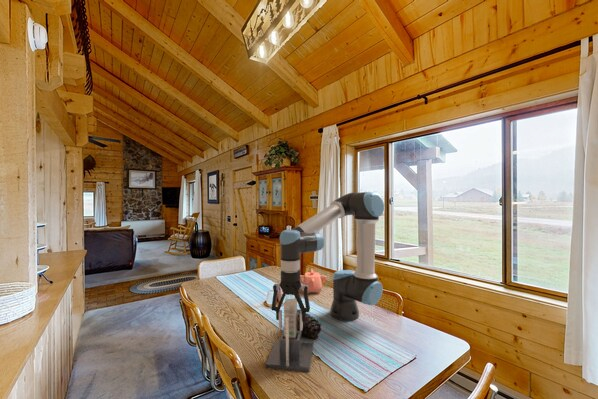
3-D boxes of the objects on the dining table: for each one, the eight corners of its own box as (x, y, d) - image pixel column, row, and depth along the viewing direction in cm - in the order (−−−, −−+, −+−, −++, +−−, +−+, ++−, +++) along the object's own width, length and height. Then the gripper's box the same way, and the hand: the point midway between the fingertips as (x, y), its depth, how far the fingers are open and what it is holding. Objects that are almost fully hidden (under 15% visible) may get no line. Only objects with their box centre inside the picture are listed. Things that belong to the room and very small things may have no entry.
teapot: (313, 297, 167) (313, 276, 167) (295, 291, 178) (295, 271, 178) (329, 290, 179) (329, 271, 179) (311, 285, 190) (311, 267, 190)
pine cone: (317, 343, 114) (317, 320, 114) (282, 333, 123) (282, 312, 123) (327, 332, 123) (327, 311, 123) (293, 324, 132) (293, 304, 132)
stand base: (313, 347, 112) (312, 301, 112) (309, 371, 96) (309, 318, 96) (275, 344, 114) (275, 299, 114) (265, 368, 98) (265, 316, 98)
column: (297, 349, 107) (297, 299, 107) (295, 357, 102) (295, 304, 101) (286, 348, 107) (286, 298, 107) (283, 356, 102) (283, 304, 102)
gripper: (317, 268, 107) (317, 325, 107) (267, 267, 110) (267, 322, 110) (315, 273, 99) (316, 335, 100) (262, 272, 102) (262, 331, 102)
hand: (290, 328), depth 105 cm, fingers open, 8 cm apart
